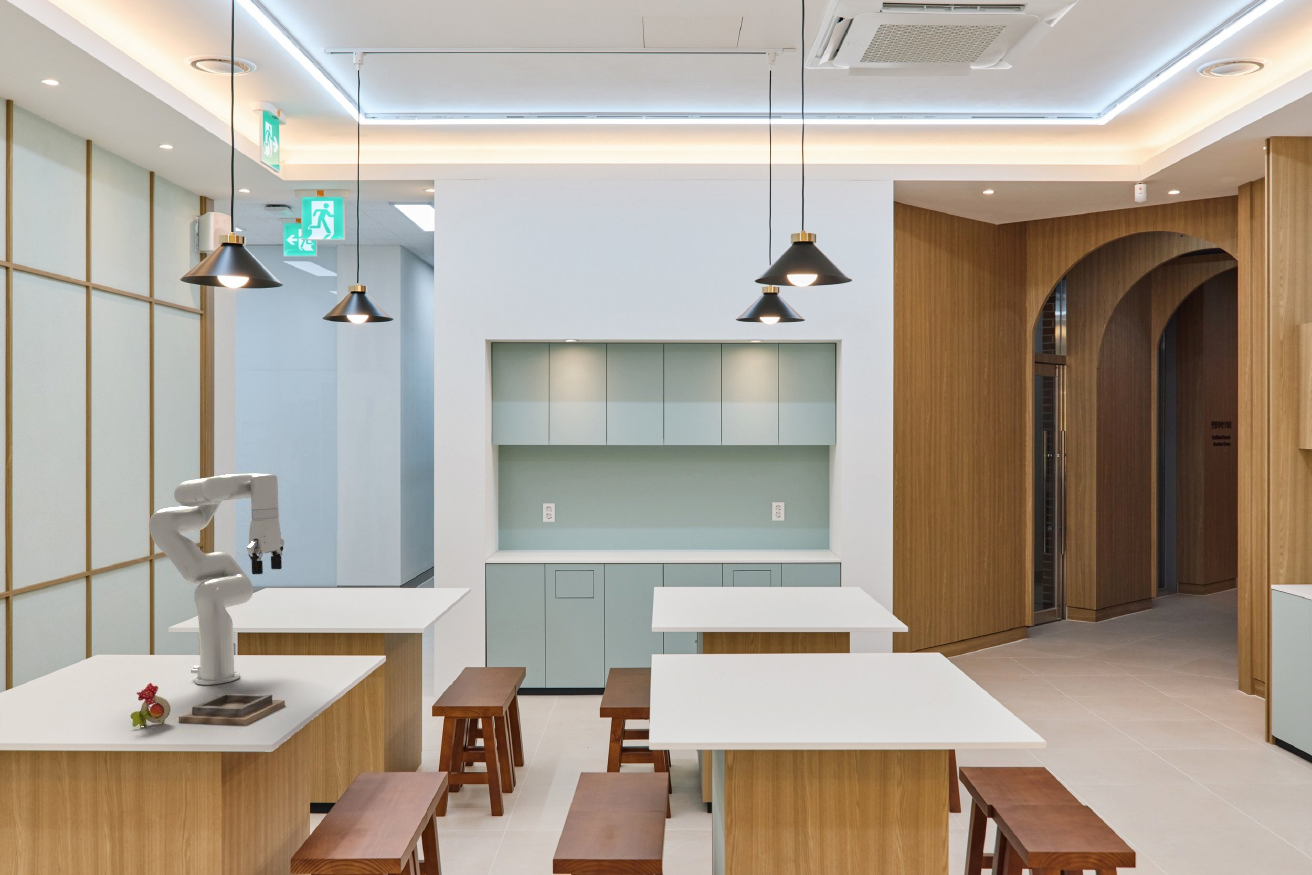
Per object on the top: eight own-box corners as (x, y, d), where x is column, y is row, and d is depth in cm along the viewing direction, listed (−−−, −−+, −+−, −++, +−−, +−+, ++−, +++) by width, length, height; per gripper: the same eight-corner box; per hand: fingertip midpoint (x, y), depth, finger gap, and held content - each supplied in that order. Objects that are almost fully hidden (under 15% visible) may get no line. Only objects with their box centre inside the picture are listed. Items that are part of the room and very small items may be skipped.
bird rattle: (166, 727, 242) (132, 716, 241) (182, 688, 243) (149, 677, 241) (157, 735, 236) (122, 724, 234) (174, 695, 236) (139, 684, 235)
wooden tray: (178, 722, 240) (178, 709, 240) (222, 703, 256) (221, 690, 256) (245, 724, 235) (244, 711, 235) (284, 705, 252) (284, 692, 252)
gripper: (270, 512, 281) (272, 567, 281) (236, 517, 264) (238, 576, 264) (292, 512, 280) (294, 567, 280) (259, 517, 263) (261, 575, 263)
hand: (267, 571), depth 272 cm, fingers open, 9 cm apart
